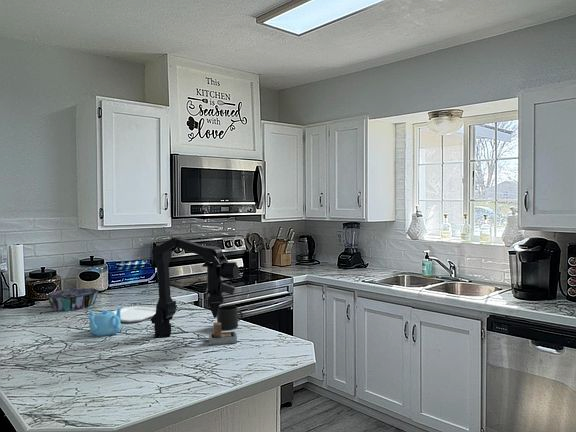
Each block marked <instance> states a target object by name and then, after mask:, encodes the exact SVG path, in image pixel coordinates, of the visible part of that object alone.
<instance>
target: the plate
mask: <svg viewBox="0 0 576 432" xmlns="http://www.w3.org/2000/svg"><path fill="white" fill-rule="evenodd" d="M111 312H114V313H115V314H116V313H117V309H116V310H112V311H111ZM155 313H156V307H146V306H137V305H135V306H124V307H122V308H121V311H120V314H121V320H120V323H128V324H131V323H132V324H133V323H138V322H139V323H140V322H142V321H144V320H147V319H148V320H149V318H150V319H151V318H152V317H153V316H154V314H155Z"/></svg>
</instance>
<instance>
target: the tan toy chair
mask: <svg viewBox="0 0 576 432" xmlns="http://www.w3.org/2000/svg"><path fill="white" fill-rule="evenodd" d="M213 333H214V338H220V337H231V333H229V334H221V333H222V329H221V322H218V323H217V322H213Z"/></svg>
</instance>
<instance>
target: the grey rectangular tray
mask: <svg viewBox="0 0 576 432" xmlns="http://www.w3.org/2000/svg"><path fill="white" fill-rule="evenodd" d="M229 333H231V337H220V338H214V332H213V333H212V332H211V333H208V343H209V346H215V345H228V344H229V345H230V344H237V343H238V338H237V337H238V336H237V334H236V331H226V332H225V331H224V332H222V331H221V334H229Z"/></svg>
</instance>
